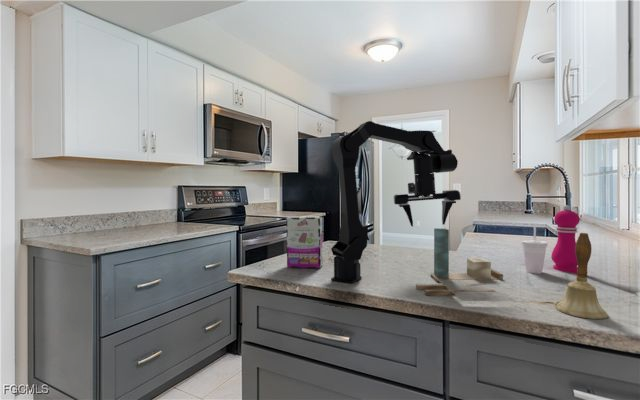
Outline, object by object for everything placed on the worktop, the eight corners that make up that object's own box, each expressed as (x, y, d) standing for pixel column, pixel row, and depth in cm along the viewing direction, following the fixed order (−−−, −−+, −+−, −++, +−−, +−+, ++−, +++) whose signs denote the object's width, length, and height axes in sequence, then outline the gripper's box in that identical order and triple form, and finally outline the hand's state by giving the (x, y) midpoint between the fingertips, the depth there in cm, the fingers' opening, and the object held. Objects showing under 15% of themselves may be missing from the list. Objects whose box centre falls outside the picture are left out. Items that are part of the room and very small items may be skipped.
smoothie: (523, 276, 95) (523, 227, 94) (519, 271, 101) (519, 225, 100) (549, 278, 92) (550, 228, 92) (544, 273, 98) (544, 225, 98)
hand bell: (585, 304, 72) (586, 230, 71) (619, 319, 64) (621, 235, 63) (546, 304, 72) (547, 230, 71) (575, 319, 64) (577, 236, 63)
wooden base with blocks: (437, 283, 89) (437, 230, 88) (430, 276, 95) (430, 227, 95) (502, 283, 88) (503, 230, 88) (491, 277, 95) (491, 227, 94)
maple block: (473, 278, 89) (473, 261, 89) (466, 274, 94) (467, 258, 94) (490, 278, 89) (490, 261, 89) (483, 274, 94) (483, 258, 94)
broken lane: (421, 295, 79) (421, 291, 79) (414, 286, 86) (414, 282, 86) (498, 295, 78) (498, 291, 78) (484, 287, 85) (484, 283, 85)
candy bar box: (323, 265, 111) (322, 216, 110) (320, 269, 106) (320, 217, 105) (290, 264, 113) (289, 215, 112) (286, 267, 108) (285, 217, 107)
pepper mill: (571, 269, 102) (572, 204, 102) (587, 276, 95) (588, 205, 94) (545, 269, 103) (546, 204, 102) (560, 275, 96) (561, 205, 95)
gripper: (450, 171, 107) (453, 220, 108) (391, 176, 110) (394, 223, 111) (459, 171, 96) (462, 224, 97) (393, 176, 99) (397, 228, 100)
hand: (427, 225), depth 102 cm, fingers open, 9 cm apart
